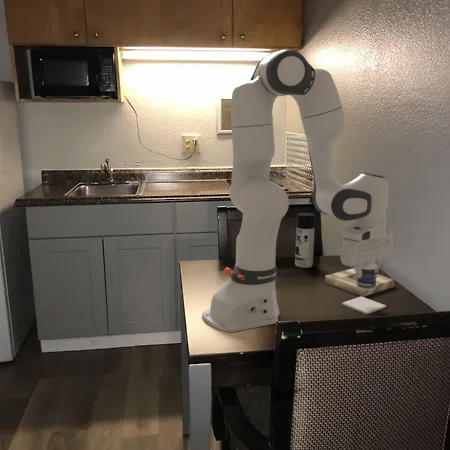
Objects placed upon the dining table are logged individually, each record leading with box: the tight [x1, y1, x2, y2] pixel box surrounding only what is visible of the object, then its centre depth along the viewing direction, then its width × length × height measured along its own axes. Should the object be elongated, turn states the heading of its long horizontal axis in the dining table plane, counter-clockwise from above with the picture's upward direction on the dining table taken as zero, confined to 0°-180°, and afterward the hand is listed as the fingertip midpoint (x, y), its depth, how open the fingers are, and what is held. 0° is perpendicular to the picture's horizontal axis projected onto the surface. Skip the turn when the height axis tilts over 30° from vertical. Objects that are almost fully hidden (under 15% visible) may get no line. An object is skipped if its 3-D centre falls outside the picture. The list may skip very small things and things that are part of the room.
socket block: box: [324, 267, 395, 298], centre depth 159 cm, size 16×16×2 cm
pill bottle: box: [356, 257, 378, 290], centre depth 139 cm, size 5×5×10 cm
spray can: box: [294, 212, 316, 269], centre depth 178 cm, size 7×7×20 cm
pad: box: [341, 296, 387, 315], centre depth 141 cm, size 9×9×1 cm
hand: (366, 274), depth 139 cm, fingers closed on pill bottle, 5 cm apart
